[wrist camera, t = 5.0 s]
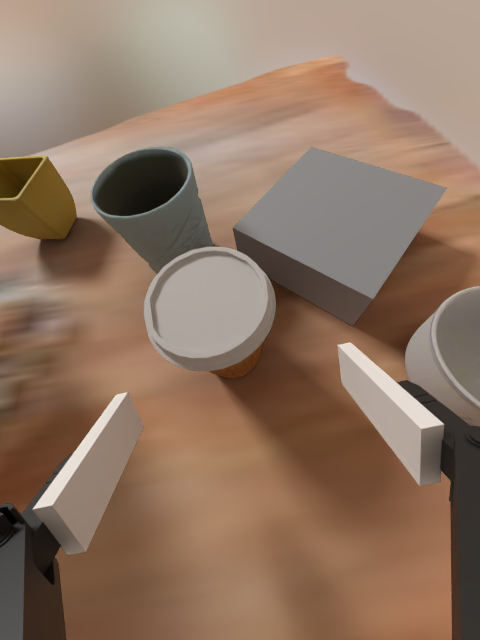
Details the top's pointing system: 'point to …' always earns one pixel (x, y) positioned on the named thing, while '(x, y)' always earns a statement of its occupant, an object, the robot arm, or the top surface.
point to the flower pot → (35, 198)
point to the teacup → (450, 355)
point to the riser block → (335, 229)
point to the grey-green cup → (153, 204)
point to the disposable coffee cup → (210, 311)
